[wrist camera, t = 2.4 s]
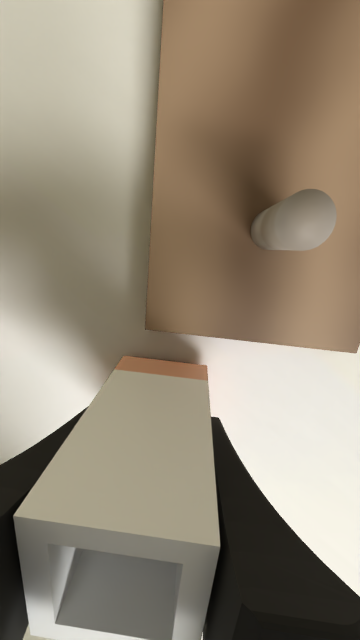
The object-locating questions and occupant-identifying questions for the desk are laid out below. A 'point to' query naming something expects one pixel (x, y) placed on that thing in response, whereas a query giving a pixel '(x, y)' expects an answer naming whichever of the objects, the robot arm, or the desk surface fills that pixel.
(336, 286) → the pin board
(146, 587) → the sleeve
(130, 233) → the desk surface
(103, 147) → the desk surface
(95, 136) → the desk surface
